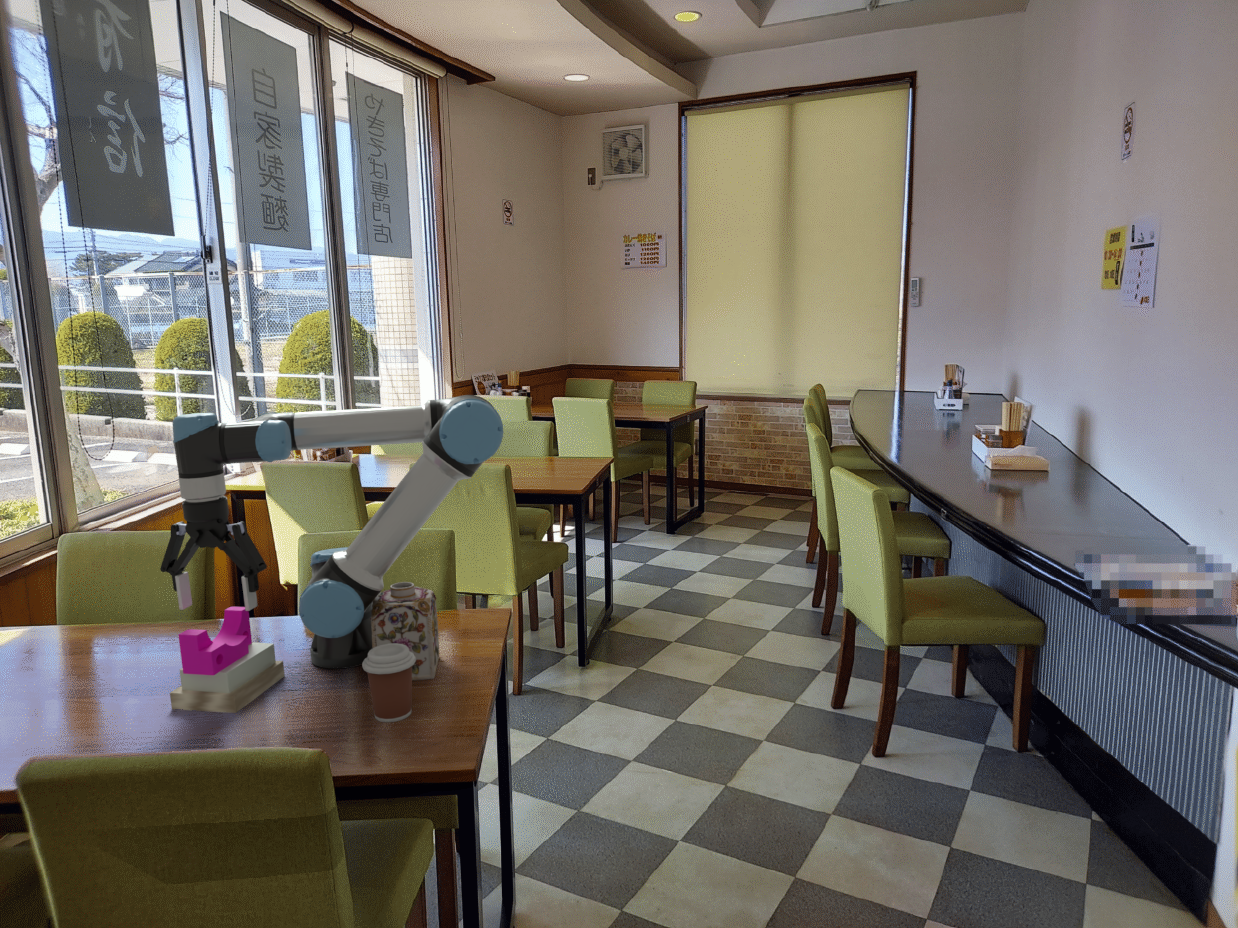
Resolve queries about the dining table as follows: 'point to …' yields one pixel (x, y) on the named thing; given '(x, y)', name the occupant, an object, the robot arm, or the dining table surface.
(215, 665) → the toy block
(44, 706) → the dining table surface
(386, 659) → the coffee cup
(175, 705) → the tower base slab
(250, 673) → the tower top slab
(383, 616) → the decorative jar
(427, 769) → the dining table surface
